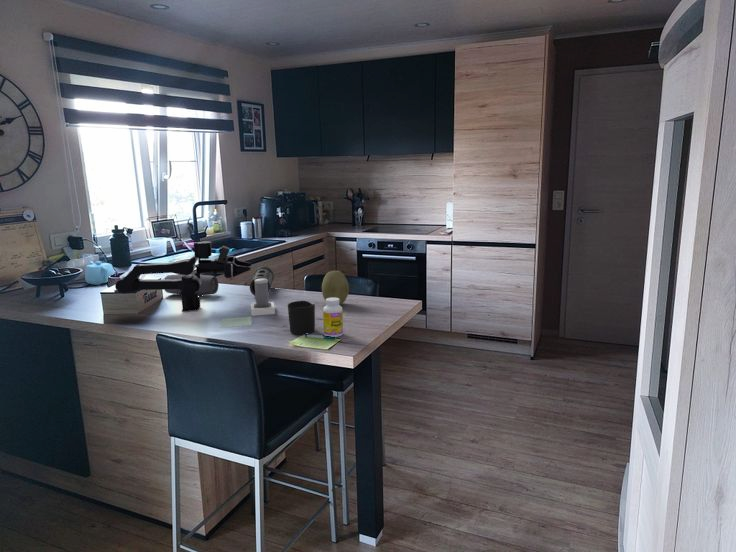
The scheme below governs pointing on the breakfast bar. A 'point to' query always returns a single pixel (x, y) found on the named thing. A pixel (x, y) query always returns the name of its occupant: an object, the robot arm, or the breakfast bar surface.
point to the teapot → (98, 272)
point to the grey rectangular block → (261, 293)
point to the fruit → (335, 286)
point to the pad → (236, 322)
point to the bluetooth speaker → (206, 288)
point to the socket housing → (262, 309)
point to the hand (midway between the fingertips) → (250, 266)
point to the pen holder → (301, 317)
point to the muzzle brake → (262, 273)
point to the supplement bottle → (333, 318)
